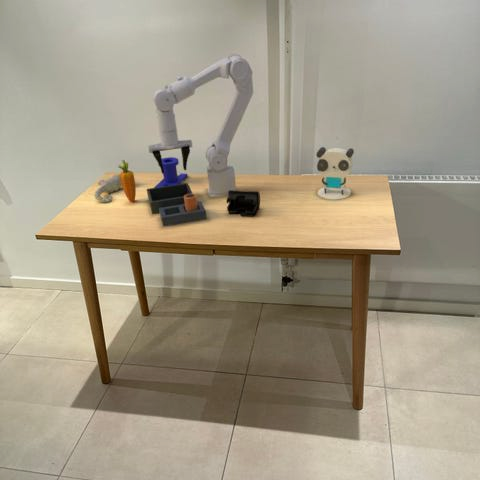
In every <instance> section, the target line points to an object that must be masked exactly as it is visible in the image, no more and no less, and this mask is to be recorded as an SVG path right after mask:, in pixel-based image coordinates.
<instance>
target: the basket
mask: <svg viewBox="0 0 480 480" xmlns="http://www.w3.org/2000/svg"><path fill="white" fill-rule="evenodd" d="M146 193H147V199H148V203H149V207H150V210H151V215H156V214H157V215H158V214H160V213H159V208H163V207H169V206H175V205H181V204H185V202H184V195H186V194H194V193H193V191H192V189H191V187H190V185H189V183H188V182H183V183H180V184H176V185H170V186H163V187H157V188H154V187H151V188H150V187H149V188H146Z"/></svg>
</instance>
